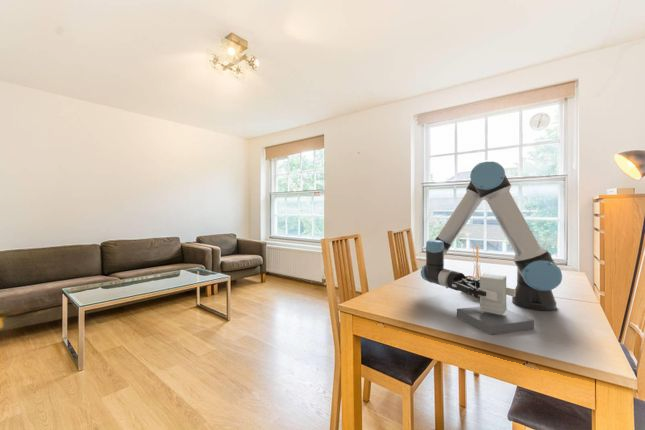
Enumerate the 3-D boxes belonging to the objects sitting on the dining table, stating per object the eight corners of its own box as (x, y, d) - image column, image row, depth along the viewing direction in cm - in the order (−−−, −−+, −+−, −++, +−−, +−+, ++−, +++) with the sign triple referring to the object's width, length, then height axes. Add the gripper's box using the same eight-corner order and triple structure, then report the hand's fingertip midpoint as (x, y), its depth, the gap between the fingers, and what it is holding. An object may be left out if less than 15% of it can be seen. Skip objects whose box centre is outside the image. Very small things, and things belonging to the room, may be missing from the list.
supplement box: (506, 310, 102) (507, 275, 101) (502, 315, 96) (503, 279, 96) (484, 305, 107) (484, 272, 107) (478, 310, 101) (479, 276, 101)
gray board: (495, 312, 112) (495, 304, 111) (534, 328, 96) (534, 320, 96) (456, 316, 107) (456, 308, 107) (490, 334, 92) (490, 325, 92)
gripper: (470, 285, 122) (525, 300, 102) (432, 291, 114) (484, 310, 93) (470, 268, 122) (525, 280, 102) (432, 273, 113) (484, 287, 93)
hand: (505, 294), depth 97 cm, fingers closed on supplement box, 9 cm apart
